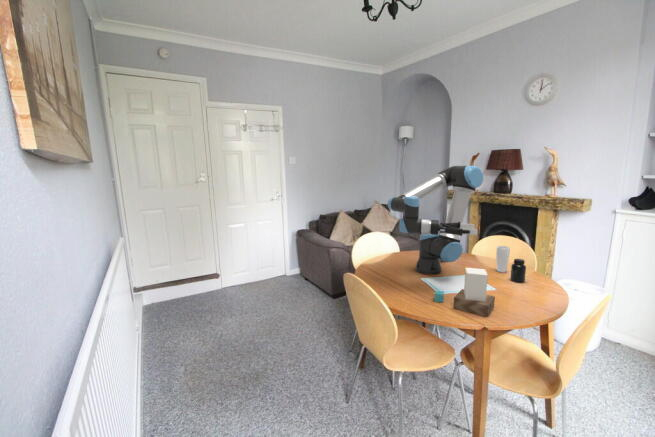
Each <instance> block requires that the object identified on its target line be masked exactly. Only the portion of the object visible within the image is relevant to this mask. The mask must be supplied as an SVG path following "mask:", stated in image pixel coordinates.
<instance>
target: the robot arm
mask: <svg viewBox="0 0 655 437" xmlns="http://www.w3.org/2000/svg"><path fill="white" fill-rule="evenodd" d="M483 182H484V174H483V171H482V169H481V168H480V167H478V166H476V165H452V166H449V167H446V168H445V169H443V170H441V171H439V172H438V173H435V174H434V176H433V177H431V178H430V179H428V180H426V181H425V182H423V183H421V184H419V185H417V186H415V187H413V188H411V189H410V190H408V191H406V192H404V193H403V194H400V195H399V196H397V197H396V196H395V197H394V196H393V197H389V199H388V200H387V208H388V209H389V210H390V211H393V212H397V213H402V214H403V218H400V220H399V227H398V228H399V229H398V230H399V232H400V233H405V234H417V235H419V234H420V235H419V241H418V242H419V243H418V244H419V246H418V248H419V251H418V259H417V262H416V265H415V271H416V272H418V273H420V274H424V275H432V276H433V275H439V274H441V273H443V268H442V265H441V261H440V260H439V259H442V260H443V261H447V263H453V262H455V261H457V260H459V259H460V257H462V254H463V249H464V248H463V245H462V244H461V241H462V240H461V238H460V237H463V235H468V236H470V235H471V236H478V231H479V230H478V229H477V228H475V224H474V223H463V222H464V219H465V216H466V213H467V208H468V205H469V203H470V202H469V201H470V199H471V195H472V194H473V193H475V192H476V189H477V188H479V187H480V186H481V185H482V184H483ZM447 187H452V190H453V191H454V192H453V195H452V198H451V202H450V206H449V207H448V208H449V209H448V213H447V215H446V219H445V222H440V221H439V219H432V220H430V219H425V218H424V219H419V215H420V214H419V213H420V200H422V199H424V198H426V197H427V196H430V195H431V194H433V193H435V192H436V191H438V190H440V189H441V190H443V189H445V188H447ZM439 222H440V223H439Z"/></svg>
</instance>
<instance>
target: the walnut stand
mask: <svg viewBox="0 0 655 437" xmlns="http://www.w3.org/2000/svg"><path fill="white" fill-rule="evenodd" d="M495 298H496V296H494V295H489V294H486V302H483V301H475V300H467V299H465V295H464V288H462V289H461V290H460V291H459V292H458V293H457V294H456V295H455V296H454V297H453V309H457V310H459V311H464V312H467V313H471V314H475V315H479V316H482V317H485V318H489V316H490V315H491V312H492V311H493V309H494V308H495V303H496V302H495Z"/></svg>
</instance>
